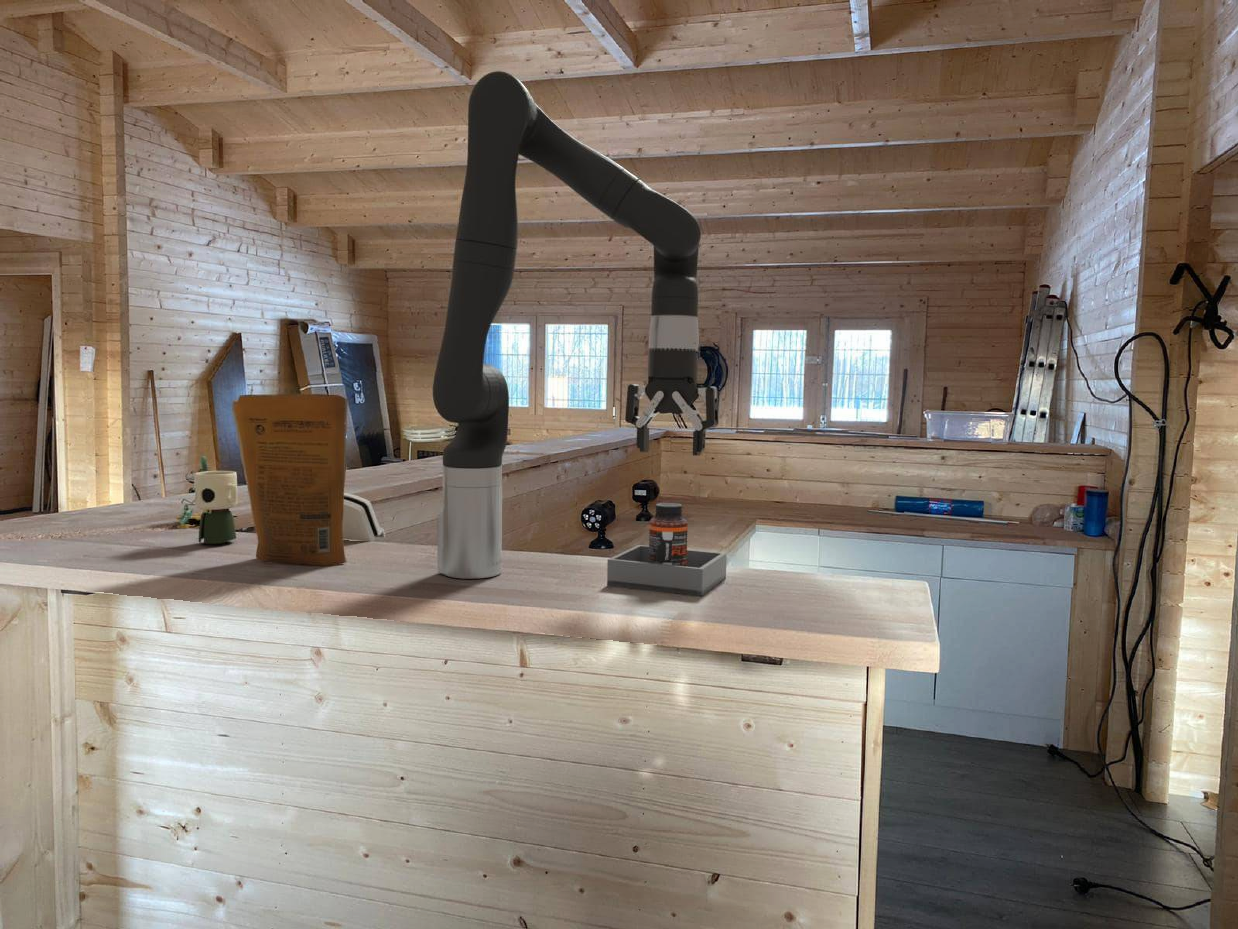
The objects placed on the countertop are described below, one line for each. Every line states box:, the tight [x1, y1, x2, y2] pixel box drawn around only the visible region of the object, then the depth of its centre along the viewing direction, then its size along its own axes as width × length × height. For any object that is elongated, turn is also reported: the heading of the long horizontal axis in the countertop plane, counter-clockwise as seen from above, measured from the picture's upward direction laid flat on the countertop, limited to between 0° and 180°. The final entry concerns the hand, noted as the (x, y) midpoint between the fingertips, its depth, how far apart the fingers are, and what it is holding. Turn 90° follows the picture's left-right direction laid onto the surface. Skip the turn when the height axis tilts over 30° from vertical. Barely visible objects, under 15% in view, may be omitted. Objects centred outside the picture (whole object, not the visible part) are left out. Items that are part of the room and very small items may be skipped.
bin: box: [606, 544, 728, 597], centre depth 137 cm, size 15×13×4 cm
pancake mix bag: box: [231, 393, 349, 567], centre depth 145 cm, size 7×19×28 cm, turn 79°
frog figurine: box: [175, 455, 222, 530], centre depth 183 cm, size 10×18×15 cm, turn 160°
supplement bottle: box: [648, 502, 688, 567], centre depth 136 cm, size 6×6×11 cm
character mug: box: [193, 470, 238, 545], centre depth 160 cm, size 11×7×13 cm, turn 60°
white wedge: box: [342, 492, 386, 542], centre depth 169 cm, size 17×5×10 cm, turn 70°
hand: (670, 453), depth 135 cm, fingers open, 8 cm apart
